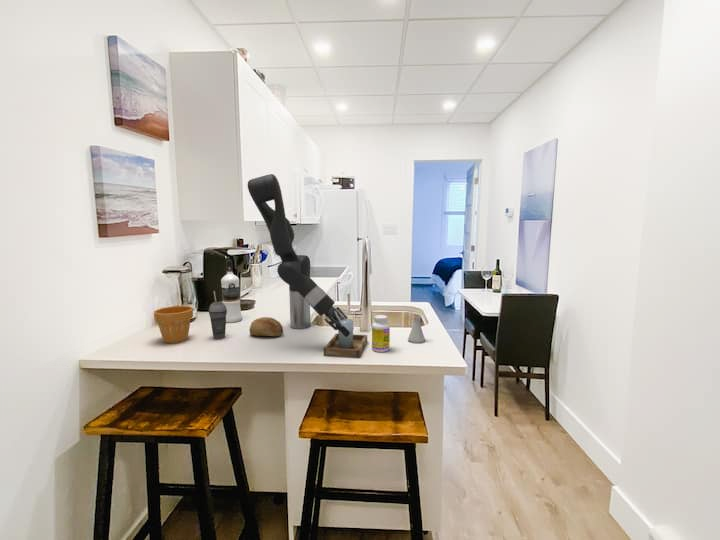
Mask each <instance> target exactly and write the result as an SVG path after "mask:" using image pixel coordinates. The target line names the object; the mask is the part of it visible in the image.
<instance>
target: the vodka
mask: <svg viewBox="0 0 720 540" xmlns="http://www.w3.org/2000/svg"><path fill="white" fill-rule="evenodd" d="M225 263H226V274H225V275H224V276H223V277H222V278H221V279H220V283H221V286H220V287H221V291H222V293H221V294H222V295H221V296H222V301H221V302H222V303H224V304H225V306H226V308H227V314H226V324H230V323H231V324H233V323H238V322H241V320H242V318H243V315H242V310H241V298H240V278H239V277H238V276H237V275H235V274H233V260H226V262H225Z"/></svg>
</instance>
